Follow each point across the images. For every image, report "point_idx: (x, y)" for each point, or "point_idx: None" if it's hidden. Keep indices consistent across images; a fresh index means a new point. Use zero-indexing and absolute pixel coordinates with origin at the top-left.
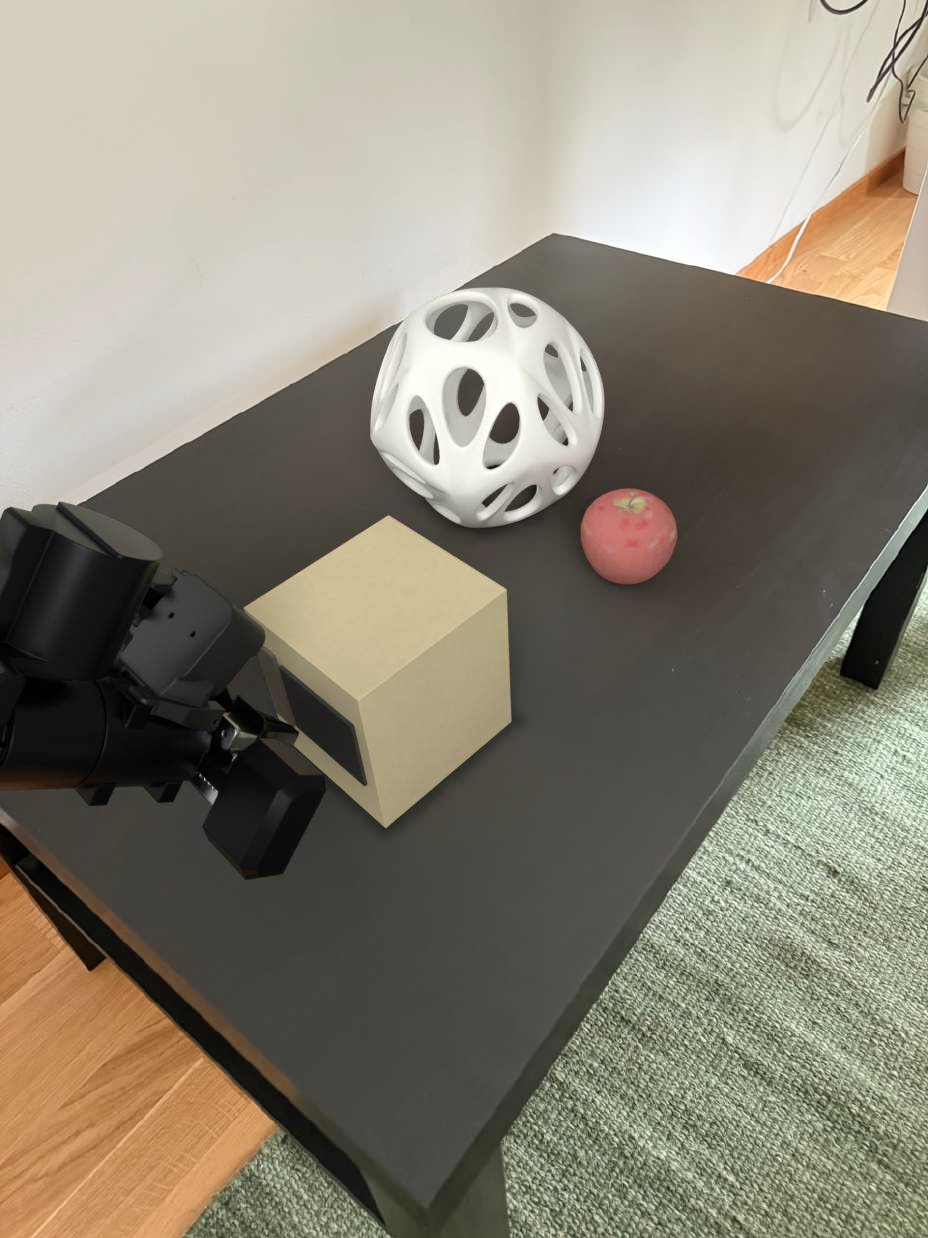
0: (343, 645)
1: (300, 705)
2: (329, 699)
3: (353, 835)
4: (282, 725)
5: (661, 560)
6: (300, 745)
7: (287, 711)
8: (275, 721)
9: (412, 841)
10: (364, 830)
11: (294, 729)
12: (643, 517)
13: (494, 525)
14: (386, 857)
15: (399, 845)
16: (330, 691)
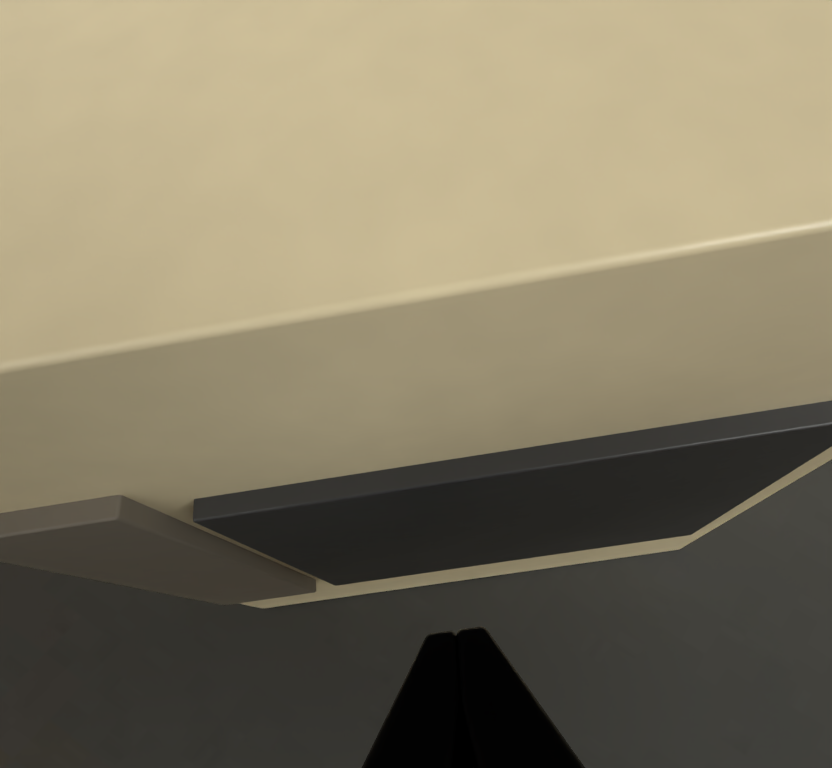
0: (566, 17)
1: (372, 544)
2: (663, 406)
3: (652, 630)
4: (477, 703)
5: None
6: (332, 593)
7: (284, 584)
8: (447, 731)
9: (748, 516)
10: (653, 597)
11: (473, 641)
12: None
13: None
14: (762, 596)
15: (743, 548)
16: (743, 347)
